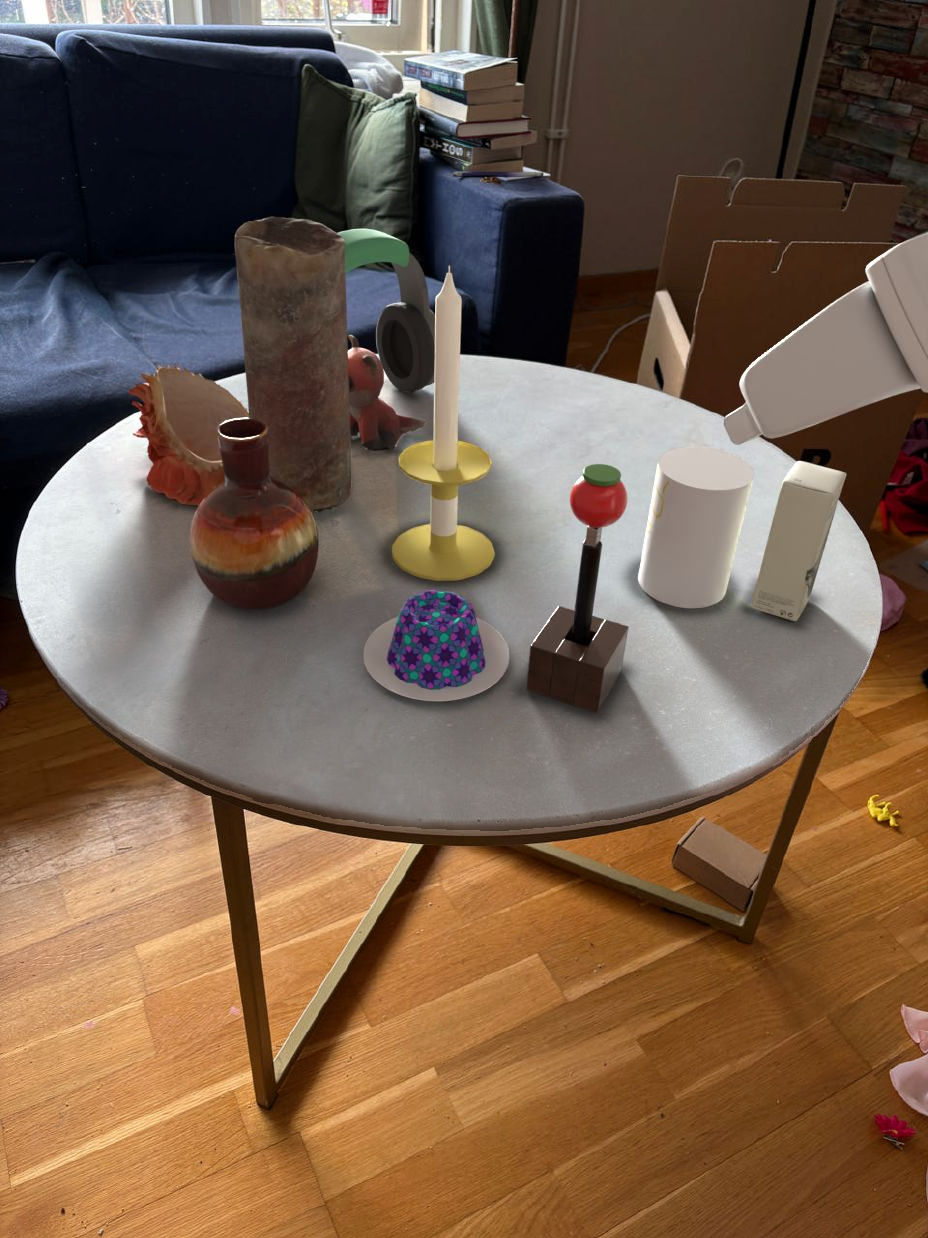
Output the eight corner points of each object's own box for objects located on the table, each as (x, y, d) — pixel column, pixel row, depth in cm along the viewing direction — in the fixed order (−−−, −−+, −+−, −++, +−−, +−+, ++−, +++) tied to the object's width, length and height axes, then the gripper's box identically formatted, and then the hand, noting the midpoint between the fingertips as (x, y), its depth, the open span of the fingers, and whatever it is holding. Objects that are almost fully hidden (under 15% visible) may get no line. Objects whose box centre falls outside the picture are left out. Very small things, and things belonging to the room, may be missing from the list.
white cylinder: (661, 550, 92) (682, 437, 85) (739, 578, 89) (768, 464, 81) (622, 586, 87) (641, 470, 80) (704, 619, 83) (731, 500, 76)
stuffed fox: (440, 443, 110) (442, 343, 103) (355, 466, 104) (351, 361, 97) (407, 419, 115) (407, 322, 108) (324, 440, 109) (318, 339, 102)
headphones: (405, 369, 128) (405, 213, 116) (452, 397, 121) (456, 234, 109) (279, 399, 118) (264, 232, 106) (322, 431, 111) (311, 257, 99)
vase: (289, 632, 80) (273, 469, 71) (173, 607, 82) (143, 445, 73) (341, 565, 88) (332, 411, 79) (234, 544, 91) (214, 392, 82)
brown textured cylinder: (339, 472, 103) (326, 212, 87) (368, 515, 96) (359, 239, 80) (246, 487, 100) (214, 219, 84) (269, 533, 93) (239, 249, 77)
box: (796, 624, 83) (835, 496, 75) (747, 608, 85) (780, 481, 77) (811, 596, 87) (849, 470, 79) (764, 581, 88) (797, 457, 81)
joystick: (606, 673, 77) (638, 467, 66) (589, 702, 74) (620, 491, 63) (560, 658, 78) (584, 454, 67) (542, 686, 75) (564, 477, 64)
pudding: (488, 722, 72) (492, 668, 68) (341, 690, 74) (338, 637, 71) (523, 631, 81) (527, 581, 78) (391, 606, 83) (390, 556, 80)
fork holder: (621, 670, 77) (629, 626, 74) (597, 713, 73) (604, 668, 70) (553, 648, 79) (558, 605, 76) (526, 689, 75) (530, 645, 72)
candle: (475, 520, 96) (488, 245, 80) (509, 572, 88) (530, 280, 72) (380, 533, 93) (373, 251, 77) (406, 588, 86) (404, 288, 70)
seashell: (140, 525, 96) (287, 508, 98) (114, 431, 89) (274, 416, 91) (147, 440, 109) (277, 427, 111) (125, 352, 102) (265, 340, 104)
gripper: (1063, 211, 51) (848, 339, 62) (874, 249, 39) (651, 398, 51) (1114, 316, 51) (889, 425, 62) (939, 385, 39) (701, 504, 50)
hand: (780, 414), depth 56 cm, fingers open, 8 cm apart
